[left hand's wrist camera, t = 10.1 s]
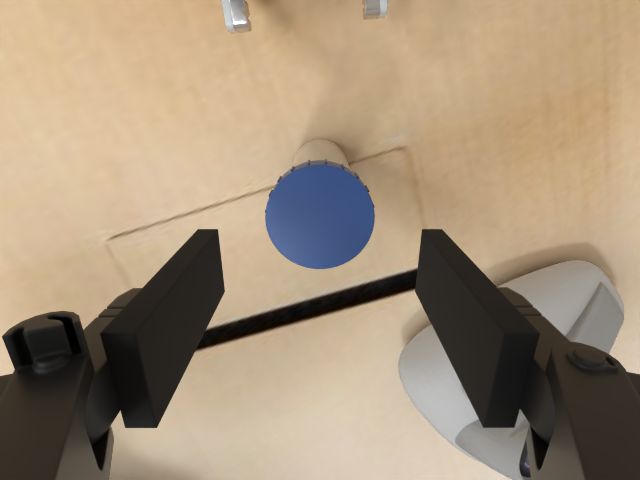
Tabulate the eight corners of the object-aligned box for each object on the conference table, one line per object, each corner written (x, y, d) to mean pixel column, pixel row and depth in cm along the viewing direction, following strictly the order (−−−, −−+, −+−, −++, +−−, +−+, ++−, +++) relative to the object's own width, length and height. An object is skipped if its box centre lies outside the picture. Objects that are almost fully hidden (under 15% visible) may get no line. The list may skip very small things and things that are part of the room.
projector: (562, 413, 46) (666, 547, 32) (384, 411, 45) (411, 544, 32) (619, 255, 37) (790, 343, 24) (401, 251, 37) (449, 338, 24)
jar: (283, 174, 35) (255, 230, 20) (312, 127, 33) (305, 150, 18) (327, 202, 36) (332, 276, 21) (357, 158, 34) (386, 204, 19)
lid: (249, 224, 21) (244, 235, 19) (304, 137, 19) (302, 140, 17) (333, 274, 22) (334, 287, 20) (392, 196, 20) (398, 204, 19)
